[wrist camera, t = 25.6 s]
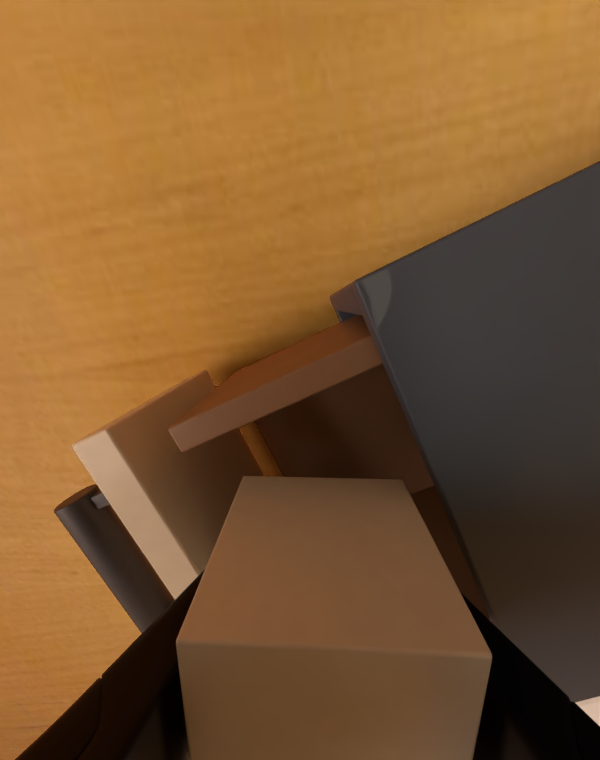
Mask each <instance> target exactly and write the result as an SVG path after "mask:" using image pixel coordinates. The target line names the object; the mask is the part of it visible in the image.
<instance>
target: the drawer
mask: <svg viewBox="0 0 600 760" xmlns="http://www.w3.org/2000/svg"><path fill="white" fill-rule="evenodd" d="M253 421H255V423H256V425H257V427H258V428H259V430H260V432H261V434H262V436H263V438H264V440H265V442H266V444H267V445H268V447H269V449H270V451H271V453H272V455H273V457H274V459H275V460H276V462H277V464H278V466H279V468H280V470H281V472H282V474H283V476H284V477H314V478H358V479H401V480H403V482H404V484H405V486H406V488H407V490H408V492H409V494H410V495H411V497H412V499H413V501H414V503H415V505H416V507H417V509H418V511H419V513H420V515H421V517H422V519H423V521H424V523H425V525H426V527H427V529H428V531H429V532H430V534H431V536H432V538H433V540H434V542H435V544H436V546H437V548H438V550H439V552H440V554H441V556H442V558H443V560H444V562H445V564H446V566H447V568H448V570H449V571H450V573H451V575H452V577H453V579H454V581H455V583H456V585H457V587H458V589H459V591H460V592H461V593H462V594H463V595H464V596H465V597H466V598H467V599H468V600H469V601H470V602H471V603H472V604H473V605H474V606H475V607H476V608H477V609H478V610H480V611H481V612H482V613H483V614H484V615H485V616H486V617H487V618H488V619H489V620H490V621H491V619H490V617H489V614H488V612H487V610H486V607H485V605H484V603H483V600H482V598H481V595H480V593H479V591H478V588H477V586H476V584H475V581H474V579H473V576H472V574H471V572H470V569H469V567H468V565H467V562H466V560H465V557H464V555H463V553H462V550H461V548H460V546H459V543H458V541H457V538H456V536H455V534H454V531H453V529H452V527H451V524H450V522H449V519H448V517H447V515H446V512H445V510H444V508H443V505H442V503H441V500H440V498H439V496H438V493H437V491H436V489H435V486H434V484H433V481H432V479H431V477H430V474H429V472H428V470H427V467H426V465H425V462H424V460H423V458H422V455H421V453H420V451H419V448H418V446H417V443H416V441H415V439H414V436H413V434H412V432H411V429H410V427H409V424H408V422H407V420H406V417H405V415H404V413H403V410H402V408H401V405H400V403H399V401H398V398H397V396H396V394H395V391H394V389H393V386H392V384H391V382H390V379H389V377H388V375H387V372H386V370H385V367H384V365H383V363H382V360H381V358H380V356H379V353H378V351H377V348H376V346H375V344H374V341H373V339H372V337H371V334H370V332H369V329H368V327H367V325H366V322H365V320H364V318H363V315H355V316H353V317H351V318H349V319H347V320H344V321H342V322H340V323H338V324H336V325H334V326H332V327H330V328H327V329H325V330H323V331H321V332H319V333H317V334H315V335H313V336H310V337H308V338H306V339H304V340H302V341H300V342H298V343H296V344H293V345H291V346H289V347H287V348H285V349H283V350H281V351H278V352H276V353H274V354H272V355H270V356H268V357H266V358H264V359H261V360H259V361H257V362H255V363H253V364H251V365H249V366H247V367H244V368H242V369H240V370H238V371H236V372H234V373H233V374H232V375H231V376H230V377H229V378H227V379H226V380H225V381H224V382H223V383H221V384H220V385H219V386H218V387H217V388H216V387H215V385H214V383H213V381H212V379H211V378H210V376H209V374H208V372H207V371H206V370H204V371H202V372H200V373H198V374H196V375H194V376H192V377H190V378H187V379H186V380H184V381H182V382H180V383H179V384H177V385H175V386H173V387H172V388H170V389H168V390H166V391H165V392H163V393H161V394H159V395H158V396H156V397H154V398H152V399H151V400H149V401H147V402H145V403H144V404H142V405H140V406H138V407H137V408H135V409H133V410H131V411H130V412H128V413H126V414H124V415H123V416H121V417H119V418H117V419H116V420H114V421H112V422H110V423H109V424H107V425H105V426H103V427H102V428H100V429H98V430H96V431H95V432H93V433H91V434H89V435H88V436H86V437H84V438H82V439H81V440H79V441H77V442H75V443H74V444H73V445H72V448H73V450H74V451H75V453H76V454H77V456H78V457H79V459H80V460H81V462H82V463H83V465H84V466H85V468H86V469H87V471H88V472H89V473H90V475H91V476H92V478H93V479H94V481H95V482H96V484H97V485H96V484H94V485H91V486H89V487H86V488H84V489H82V490H81V491H79V492H77V493H75V494H74V495H72V496H71V497H69V498H68V499H66V500H65V501H63V502H62V503H61V504H60V505H58V506H57V507H56V508H55V510H54V513H55V514H56V515H57V517H58V518H59V520H60V521H61V522H62V524H63V525H64V526H65V528H66V529H67V531H68V532H69V533H70V535H71V536H72V537H73V539H74V540H75V542H76V543H77V544H78V546H79V547H80V549H81V550H82V551H83V553H84V554H85V555H86V557H87V558H88V560H89V561H90V562H91V564H92V565H93V567H94V568H95V569H96V571H97V572H98V573H99V575H100V576H101V578H102V579H103V580H104V582H105V583H106V584H107V586H108V587H109V589H110V590H111V591H112V593H113V594H114V596H115V597H116V598H117V600H118V601H119V602H120V604H121V605H122V607H123V608H124V609H125V611H126V612H127V613H128V615H129V616H130V618H131V619H132V620H133V622H134V623H135V625H136V626H137V627H138V629H139V630H140V631H141V633H143V632H144V631H145V630H146V629H147V628H148V627H149V626H150V625H151V624H152V623H153V622H154V621H155V620H156V619H157V618H158V617H159V616H160V615H161V614H162V613H163V612H164V610H165V609H166V608H167V607H168V606H169V605H170V604H171V603H172V602H173V601H174V600H175V599H176V598H177V597H178V596H179V595H180V594H181V593H182V592H183V591H184V590H185V589H186V588H187V587H188V586H189V585H190V584H191V583H192V582H193V581H194V580H195V579H196V578H197V577H198V576H199V575H200V573H201V572H202V571H203V570H204V569H205V568H206V566H207V564H208V561H209V559H210V556H211V554H212V551H213V549H214V547H215V544H216V542H217V539H218V537H219V534H220V532H221V530H222V527H223V525H224V522H225V520H226V517H227V515H228V512H229V510H230V508H231V505H232V503H233V500H234V498H235V495H236V493H237V490H238V488H239V486H240V483H241V481H242V478H243V476H264V475H263V473H262V471H261V469H260V467H259V466H258V464H257V462H256V460H255V458H254V456H253V455H252V453H251V451H250V449H249V447H248V445H247V444H246V442H245V440H244V438H243V436H242V434H241V433H240V431H239V429H238V428H240V427H242V426H244V425H247V424H249V423H251V422H253Z"/></svg>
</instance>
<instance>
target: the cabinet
mask: <svg viewBox="0 0 600 760" xmlns="http://www.w3.org/2000/svg"><path fill="white" fill-rule="evenodd" d="M330 299H331V302H332V304H333V306H334V309H335V311H336V313H337V315H338V318H339V320H340V322H342V321H344V320H347V319H349V318H351V317H353V316H355V315H363V318H364V320H365V322H366V325H367V327H368V329H369V332H370V334H371V337H372V339H373V341H374V344H375V346H376V348H377V351H378V353H379V356H380V358H381V360H382V363H383V365H384V367H385V370H386V372H387V375H388V377H389V379H390V382H391V384H392V386H393V389H394V391H395V394H396V396H397V398H398V401H399V403H400V405H401V408H402V410H403V413H404V415H405V417H406V420H407V422H408V424H409V427H410V429H411V432H412V434H413V436H414V439H415V441H416V443H417V446H418V448H419V451H420V453H421V455H422V458H423V460H424V462H425V465H426V467H427V470H428V472H429V474H430V477H431V479H432V481H433V484H434V486H435V489H436V491H437V493H438V496H439V498H440V500H441V503H442V505H443V508H444V510H445V512H446V515H447V517H448V519H449V522H450V524H451V527H452V529H453V531H454V534H455V536H456V538H457V541H458V543H459V546H460V548H461V550H462V553H463V555H464V557H465V560H466V562H467V565H468V567H469V569H470V572H471V574H472V576H473V579H474V581H475V584H476V586H477V588H478V591H479V593H480V595H481V598H482V600H483V603H484V605H485V607H486V610H487V612H488V614H489V617H490V619H491V622H492V623H493V624H494V625H495V626H496V627H497V628H498V629H499V630H500V631H501V632H502V633H503V634H504V635H505V636H506V637H507V638H508V639H510V640H511V641H512V642H513V643H514V644H515V645H516V646H517V647H518V648H519V649H520V650H521V651H522V652H523V653H524V654H525V655H526V656H527V657H528V658H529V659H530V660H531V661H532V662H533V663H534V664H535V665H536V666H537V667H539V668H540V669H541V670H542V671H543V672H544V673H545V674H546V675H547V676H548V677H549V678H550V679H551V680H552V681H553V682H554V683H555V684H556V685H557V686H558V687H559V688H560V689H561V690H562V691H563V692H564V693H565V694H566V695H568V697H569V698H570V702H572V701H573V702H575V703H576V702H579V701H583V700H587V699H591V698H595V697H599V696H600V161H599V162H597V163H595V164H593V165H591V166H589V167H587V168H585V169H583V170H581V171H578V172H576V173H574V174H572V175H570V176H568V177H566V178H564V179H562V180H560V181H558V182H556V183H554V184H552V185H550V186H548V187H546V188H544V189H541V190H539V191H537V192H535V193H533V194H531V195H529V196H527V197H525V198H523V199H521V200H519V201H517V202H515V203H513V204H511V205H509V206H507V207H505V208H502V209H500V210H498V211H496V212H494V213H492V214H490V215H488V216H486V217H484V218H482V219H480V220H478V221H476V222H474V223H472V224H470V225H468V226H465V227H463V228H461V229H459V230H457V231H455V232H453V233H451V234H449V235H447V236H445V237H443V238H441V239H439V240H437V241H435V242H433V243H431V244H429V245H426V246H424V247H422V248H420V249H418V250H416V251H414V252H412V253H410V254H408V255H406V256H404V257H402V258H400V259H398V260H396V261H394V262H392V263H389V264H387V265H385V266H383V267H381V268H379V269H377V270H375V271H373V272H371V273H369V274H367V275H365V276H363V277H361V278H359V279H357V280H355V281H353V282H352V283H350V284H349V285H347V286H346V287H344V288H342V289H341V290H339V291H338V292H336V293H334V294H333V295H331V296H330Z"/></svg>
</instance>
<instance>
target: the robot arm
mask: <svg viewBox="0 0 600 760" xmlns="http://www.w3.org/2000/svg"><path fill="white" fill-rule="evenodd" d="M205 569H206V568H205ZM205 569H204V570H203V571H202V572H201V573H200V575H199V576H198V577H197V578H196V579H195V580H194V581H193V582H192V583H191V584H190V585H189V586H188V587H187V588H186V589H185V590H184V591H183V592H182V593H181V594H180V595H179V596H178V597H177V598H176V599H175V600H174V601H173V602H172V603H171V604H170V605H169V606H168V607H167V608H166V609H165V610H164V612H163V613H162V614H161V615H160V616H159V617H158V618H157V619H156V620H155V621H154V622H153V623H152V624H151V625H150V626H149V627H148V628H147V629H146V630H145V631H144V632H143V633H142V634H141V635H140V636H139V637H138V638H137V639H136V640H135V641H134V642H133V643H132V644H131V645H130V646H129V648H128V649H127V650H126V651H125V652H124V653H123V654H122V655H121V656H120V657H119V658H118V659H117V660H116V661H115V662H114V663H113V664H112V665H111V666H110V667H109V668H108V669H107V670H106V671H105V672H104V673H103V675H102V679H101V678H98V679H97V680H96V681H95V682H94V683H93V684H92V685H91V686H90V687H89V688H88V689H87V690H86V692H85V693H84V694H83V695H82V696H81V697H80V698H79V699H78V700H77V701H76V702H75V703H74V704H73V705H72V706H71V707H70V708H69V709H68V710H67V711H66V712H65V713H64V714H63V715H62V716H61V717H60V718H59V719H57V720H56V721H55V722H54V723H53V724H52V725H51V726H50V727H49V728H48V729H47V730H46V731H45V732H44V733H43V734H42V735H41V736H40V737H39V738H38V739H37V740H36V741H34V742H33V743H32V744H31V745H30V746H29V747H28V748H27V749H26V750H25V751H24V752H23V753H22V754H21V755H19V756H18V757H17V758H16V759H15V760H190V757H189V748H188V740H187V732H186V723H185V715H184V707H183V698H182V690H181V682H180V674H179V665H178V657H177V649H176V639H177V637H178V634H179V632H180V630H181V627H182V625H183V622H184V620H185V617H186V615H187V612H188V610H189V608H190V605H191V603H192V600H193V598H194V595H195V593H196V590H197V588H198V586H199V583H200V581H201V578H202V576H203V573H204V571H205ZM460 593H461V592H460ZM461 595H462V597H463V599H464V601H465V603H466V605H467V607H468V608H469V610H470V612H471V614H472V616H473V618H474V620H475V622H476V624H477V626H478V628H479V630H480V632H481V634H482V636H483V638H484V640H485V642H486V644H487V646H488V647H489V649H490V651H491V654H492V662H491V667H490V673H489V678H488V683H487V688H486V694H485V699H484V704H483V709H482V714H481V720H480V725H479V730H478V735H477V741H476V746H475V751H474V756H473V760H600V726H599V725H598V724H597V723H596V722H595V721H594V720H593V719H592V718H591V717H589V716H588V715H587V714H586V713H585V712H584V711H583V710H582V709H581V708H580V707H579V706H578V705H577V704H576V703H575V702H573V701H572V702H570V698H569V697H568V695H566V694H565V693H564V692H563V691H562V690H561V689H560V688H559V687H558V686H557V685H556V684H555V683H554V682H553V681H552V680H551V679H550V678H549V677H548V676H547V675H546V674H545V673H544V672H543V671H542V670H541V669H540V668H539V667H537V666H536V665H535V664H534V663H533V662H532V661H531V660H530V659H529V658H528V657H527V656H526V655H525V654H524V653H523V652H522V651H521V650H520V649H519V648H518V647H517V646H516V645H515V644H514V643H513V642H512V641H511V640H510V639H508V638H507V637H506V636H505V635H504V634H503V633H502V632H501V631H500V630H499V629H498V628H497V627H496V626H495V625H494V624H493V623H492V622H491V621H490V620H489V619H488V618H487V617H486V616H485V615H484V614H483V613H482V612H481V611H480V610H478V609H477V608H476V607H475V606H474V605H473V604H472V603H471V602H470V601H469V600H468V599H467V598H466V597H465V596H464V595H463V594H462V593H461Z"/></svg>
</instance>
